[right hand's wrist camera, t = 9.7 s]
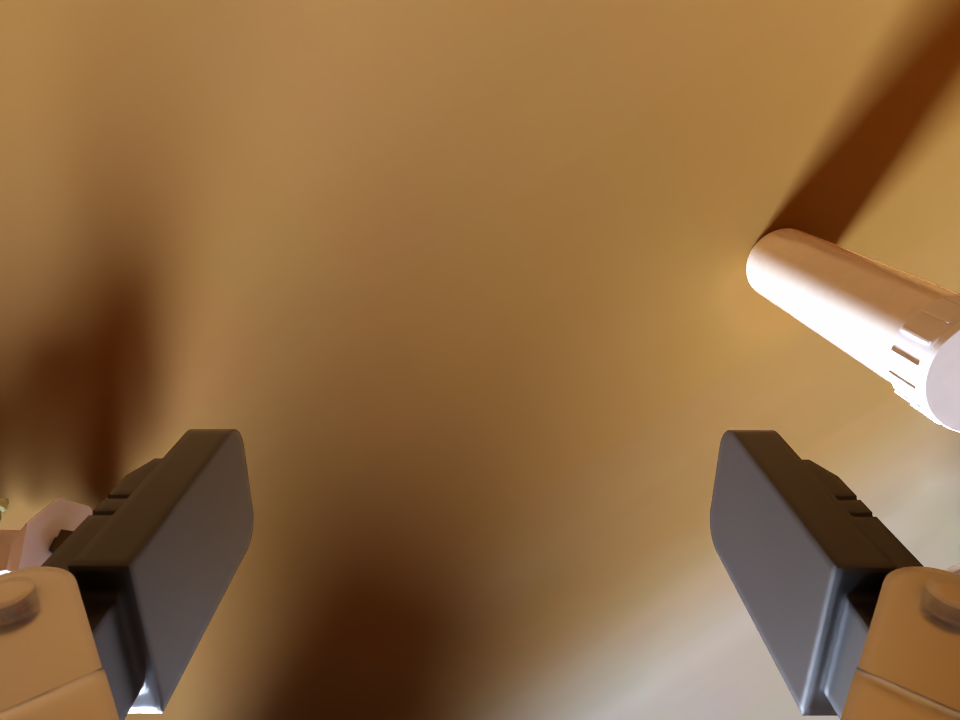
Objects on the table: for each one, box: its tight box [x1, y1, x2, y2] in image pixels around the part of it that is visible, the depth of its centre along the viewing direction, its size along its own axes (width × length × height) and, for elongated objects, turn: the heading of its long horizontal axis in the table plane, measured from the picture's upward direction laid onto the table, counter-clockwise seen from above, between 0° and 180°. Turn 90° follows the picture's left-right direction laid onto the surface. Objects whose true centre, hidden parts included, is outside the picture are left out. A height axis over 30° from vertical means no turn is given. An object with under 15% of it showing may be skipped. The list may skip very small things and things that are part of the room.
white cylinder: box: [746, 228, 960, 383], centre depth 31 cm, size 4×4×16 cm
